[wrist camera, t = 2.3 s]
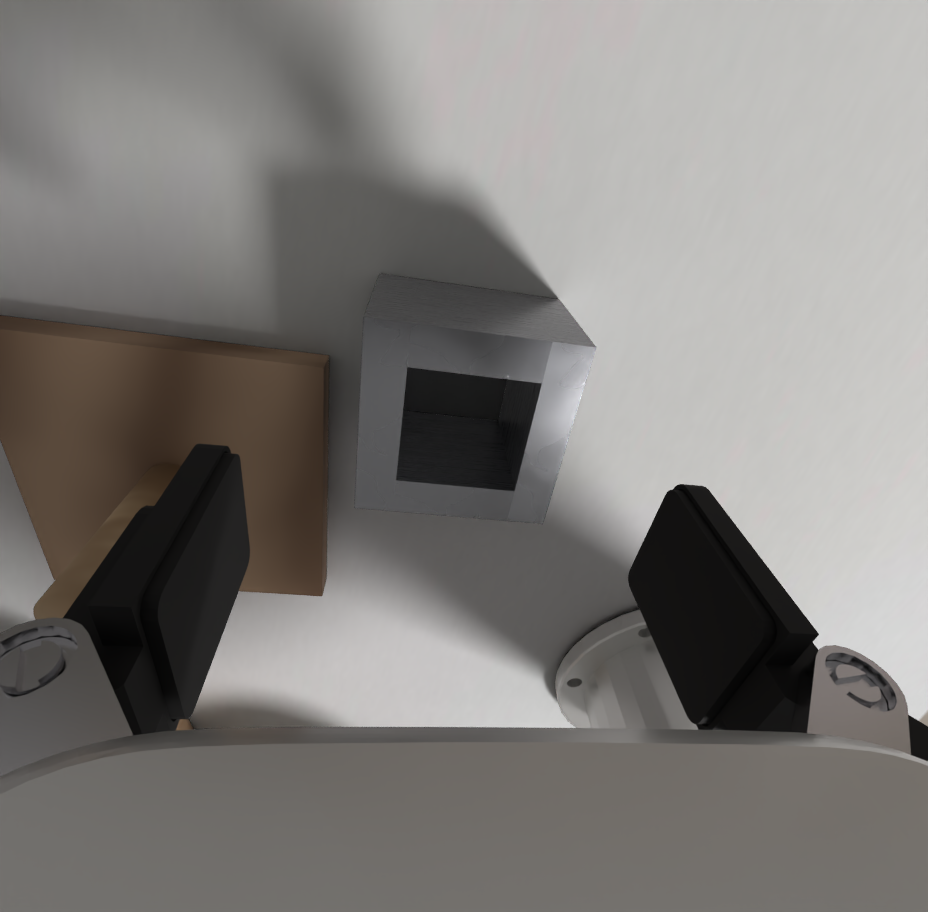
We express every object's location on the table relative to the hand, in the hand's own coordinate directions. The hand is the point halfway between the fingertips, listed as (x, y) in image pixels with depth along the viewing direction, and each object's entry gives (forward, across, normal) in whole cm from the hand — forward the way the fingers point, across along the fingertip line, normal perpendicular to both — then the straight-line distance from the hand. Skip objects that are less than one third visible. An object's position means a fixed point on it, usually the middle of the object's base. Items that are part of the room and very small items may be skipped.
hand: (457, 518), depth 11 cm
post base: (+10, +10, +7) cm, 16 cm away
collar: (+10, -1, +1) cm, 10 cm away
